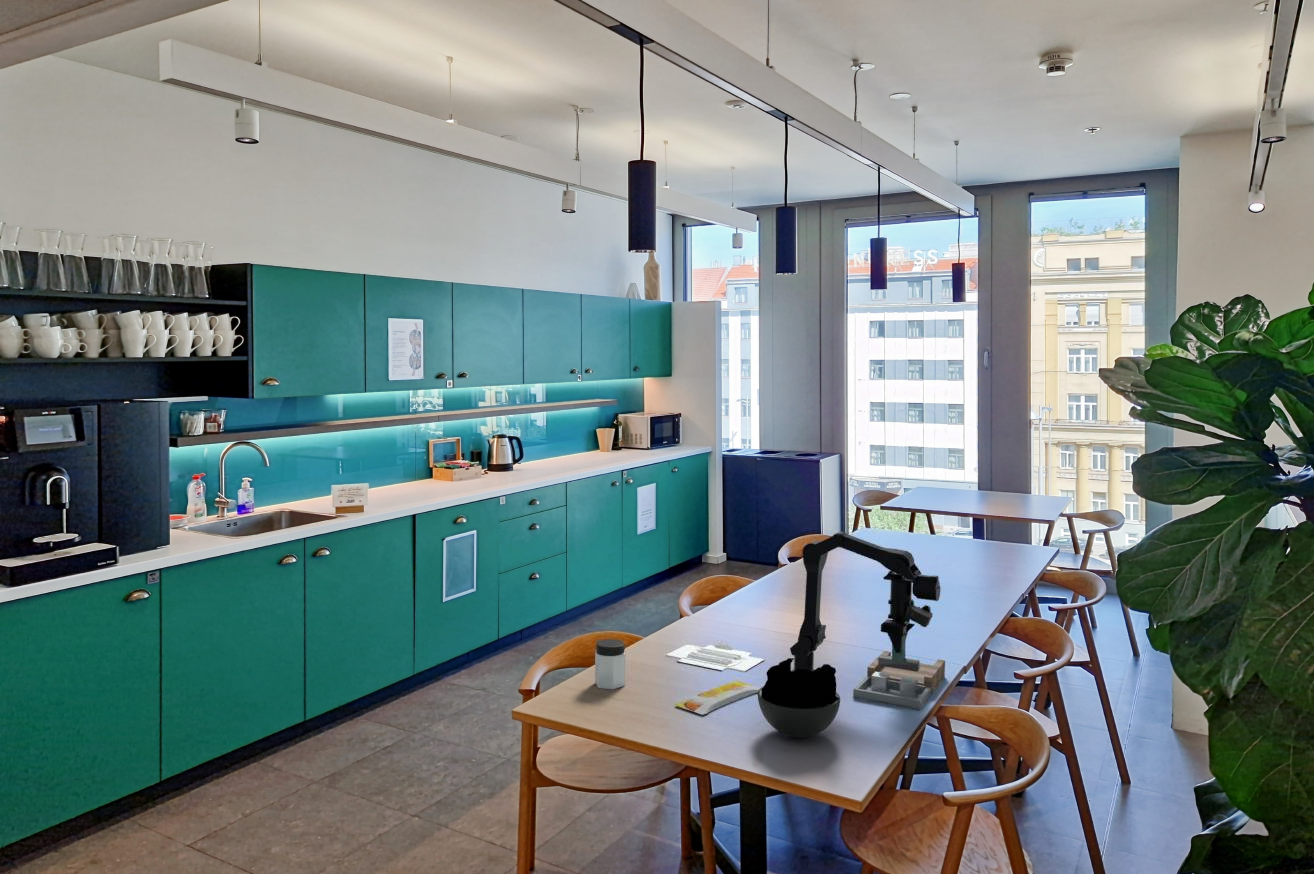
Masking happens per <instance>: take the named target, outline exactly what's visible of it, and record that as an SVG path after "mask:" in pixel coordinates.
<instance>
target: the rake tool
mask: <svg viewBox="0 0 1314 874" xmlns="http://www.w3.org/2000/svg"><path fill="white" fill-rule="evenodd" d="M920 663H921V661H920V659H919V660H918V659H912V658H908V657H907V658H906V641H905V635H904V636H903V640H902V645H901V650H900V653H896V652H895V649H894V647H893V645H892V644H891V656H887V655H881V654H879V655H878V665H879V666H885V667H891V668H897V669H903V670H909V671H916V672H918V670H919V669H920Z"/></svg>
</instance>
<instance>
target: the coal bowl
mask: <svg viewBox="0 0 1314 874" xmlns="http://www.w3.org/2000/svg"><path fill="white" fill-rule="evenodd" d="M792 662H794V657H793V658H792V657H789V658H787V659H785V660H782V661H781V662H780V661H779V663H778V664H776V665H773V666H771V667H769V669H768V670H767V671H766V678H767V679H766V681H765V684H764V685H763V686H762V687H760V689H759V691H758V692H757V701H758V706H759V708H760V711H761V713H762V715H763V717H764V719H765V720H766V721H767V723H769V725H770V726H771V727H772V728H773V729H775V730H776V731H778V732H779V733H781V734H782V735H785V736H788V737H790V738H791V737H792V738H795V739H796V738H797V739H802V738H803V739H805V738H809V737H813V736H816V735H819V734H820V733H822V732H823V731H825V730H826V729H827V728H829V726H831V724H832V723H833V722H834V720H835V719H836V716H837V714H838V712H839V709H840V706H841V696H840V695H839V693H838V692H837V678H836V672H837V669H836V668H835V667H833V666H832V665H831V664H829V663H824V664H822V666H819V667H817V668H816V669H814V671H810V670H806V669H797V670H795V671H792Z"/></svg>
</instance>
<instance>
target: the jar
mask: <svg viewBox="0 0 1314 874" xmlns="http://www.w3.org/2000/svg"><path fill="white" fill-rule="evenodd" d="M625 648H626V647H625V642H624V641H623V640H620V639H616V638H615V639H614V638H608V639H607V638H606V639H600V640H598V641H596V643H595V651H594V662H595V663H594V683H595V685H596V686H597V688H598V689H603V690H604V689H605V690H616V689H619V688H623V687H625V686H626V653H625V651H626V649H625Z"/></svg>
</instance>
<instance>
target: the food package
mask: <svg viewBox="0 0 1314 874" xmlns="http://www.w3.org/2000/svg"><path fill="white" fill-rule="evenodd" d="M760 688H761V687H759V686H756V685H753V684H749V683H746V682H743V681H739V680H735V681H732V682H728V683H725V684H721V686H717V687H715V688H713V689H709V690H708V691H703V692H702V693H699V694H696V695H694V696H692V697H689V698H687V699H685V700H683V701H680V702H677V703H676V704H674V706H675V707H677V708H681V709H683V710H687V711H691V712H693V713H696V714H699V715H706V714H709V713H711V712H713V711H714V710H717V709H719V708H722V707H724V706H726V705H728V704H732V703H733V702H735V701H738V700H741V699H744V698H747V697H749V696H751V695H754V694H758V691H759V689H760Z"/></svg>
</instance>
